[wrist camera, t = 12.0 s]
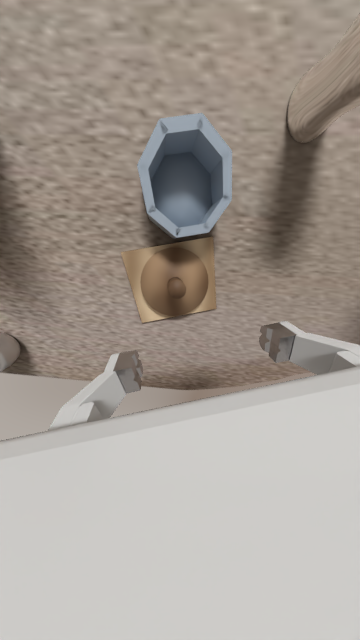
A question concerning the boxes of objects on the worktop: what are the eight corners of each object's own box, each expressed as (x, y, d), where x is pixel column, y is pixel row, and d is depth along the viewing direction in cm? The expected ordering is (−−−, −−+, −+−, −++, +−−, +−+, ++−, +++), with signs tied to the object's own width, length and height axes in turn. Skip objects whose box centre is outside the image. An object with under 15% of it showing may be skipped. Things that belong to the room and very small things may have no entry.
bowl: (214, 140, 19) (232, 108, 14) (217, 231, 23) (231, 228, 19) (135, 151, 18) (128, 122, 14) (154, 242, 23) (153, 241, 19)
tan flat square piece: (212, 236, 24) (213, 236, 23) (215, 307, 29) (216, 308, 29) (121, 252, 23) (120, 252, 23) (142, 321, 29) (142, 322, 28)
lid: (204, 241, 24) (212, 241, 20) (208, 307, 29) (216, 316, 25) (132, 254, 23) (127, 256, 19) (150, 318, 28) (148, 329, 25)
